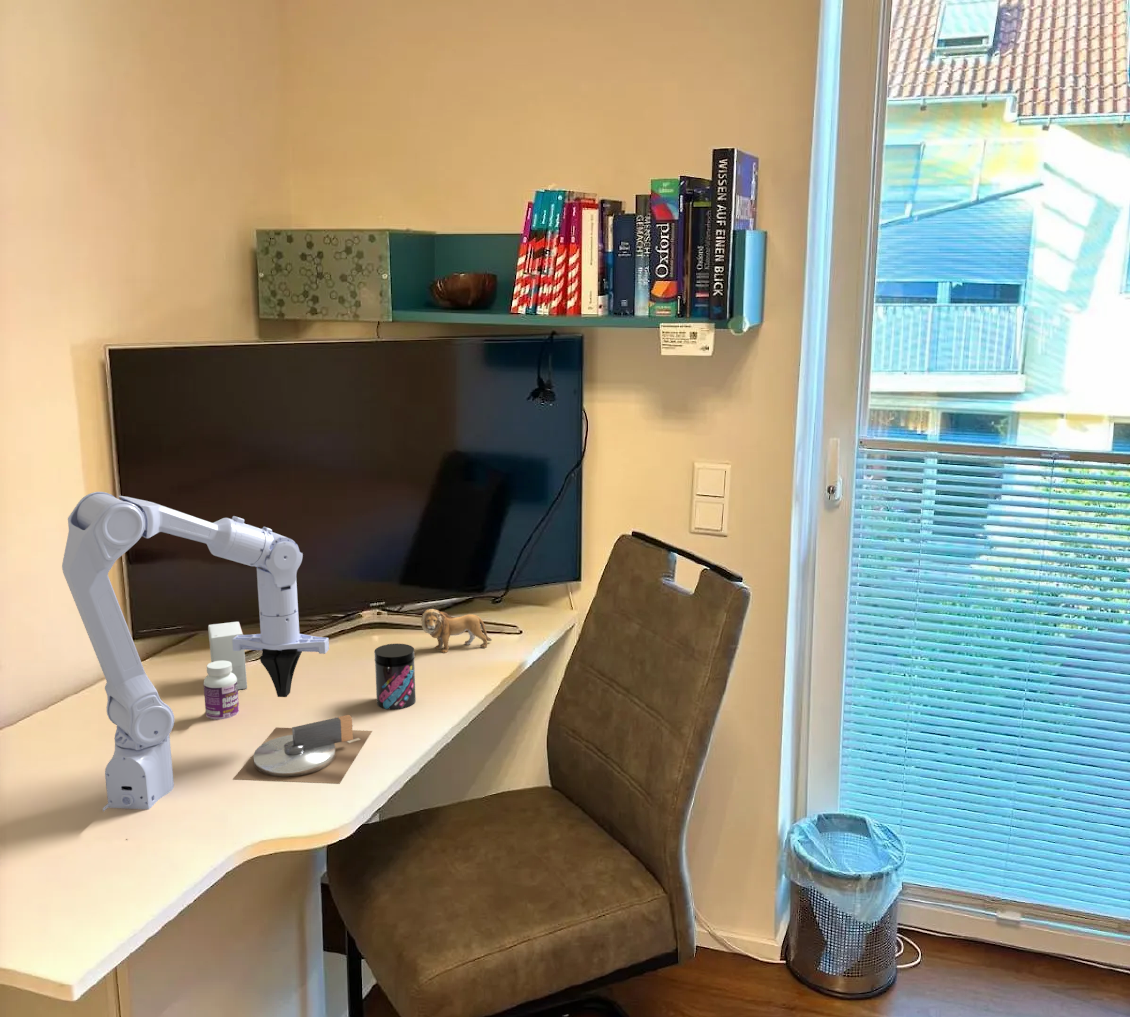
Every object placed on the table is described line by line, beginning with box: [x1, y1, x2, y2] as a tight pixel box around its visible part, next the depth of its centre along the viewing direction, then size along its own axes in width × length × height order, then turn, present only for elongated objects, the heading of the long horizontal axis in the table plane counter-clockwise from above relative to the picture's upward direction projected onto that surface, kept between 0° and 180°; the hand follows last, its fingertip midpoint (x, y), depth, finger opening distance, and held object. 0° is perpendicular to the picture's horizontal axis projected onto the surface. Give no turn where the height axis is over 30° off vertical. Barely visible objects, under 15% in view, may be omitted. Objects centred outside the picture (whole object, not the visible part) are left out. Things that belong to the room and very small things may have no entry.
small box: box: [207, 621, 248, 691], centre depth 192 cm, size 8×6×10 cm
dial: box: [253, 714, 353, 777], centre depth 161 cm, size 15×12×5 cm
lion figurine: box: [421, 608, 492, 654], centre depth 210 cm, size 15×5×9 cm, turn 118°
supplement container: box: [373, 643, 417, 711], centre depth 181 cm, size 7×7×10 cm
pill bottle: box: [203, 661, 240, 720], centre depth 177 cm, size 5×5×10 cm
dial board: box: [232, 727, 373, 785], centre depth 162 cm, size 18×16×1 cm
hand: (283, 694), depth 164 cm, fingers closed
